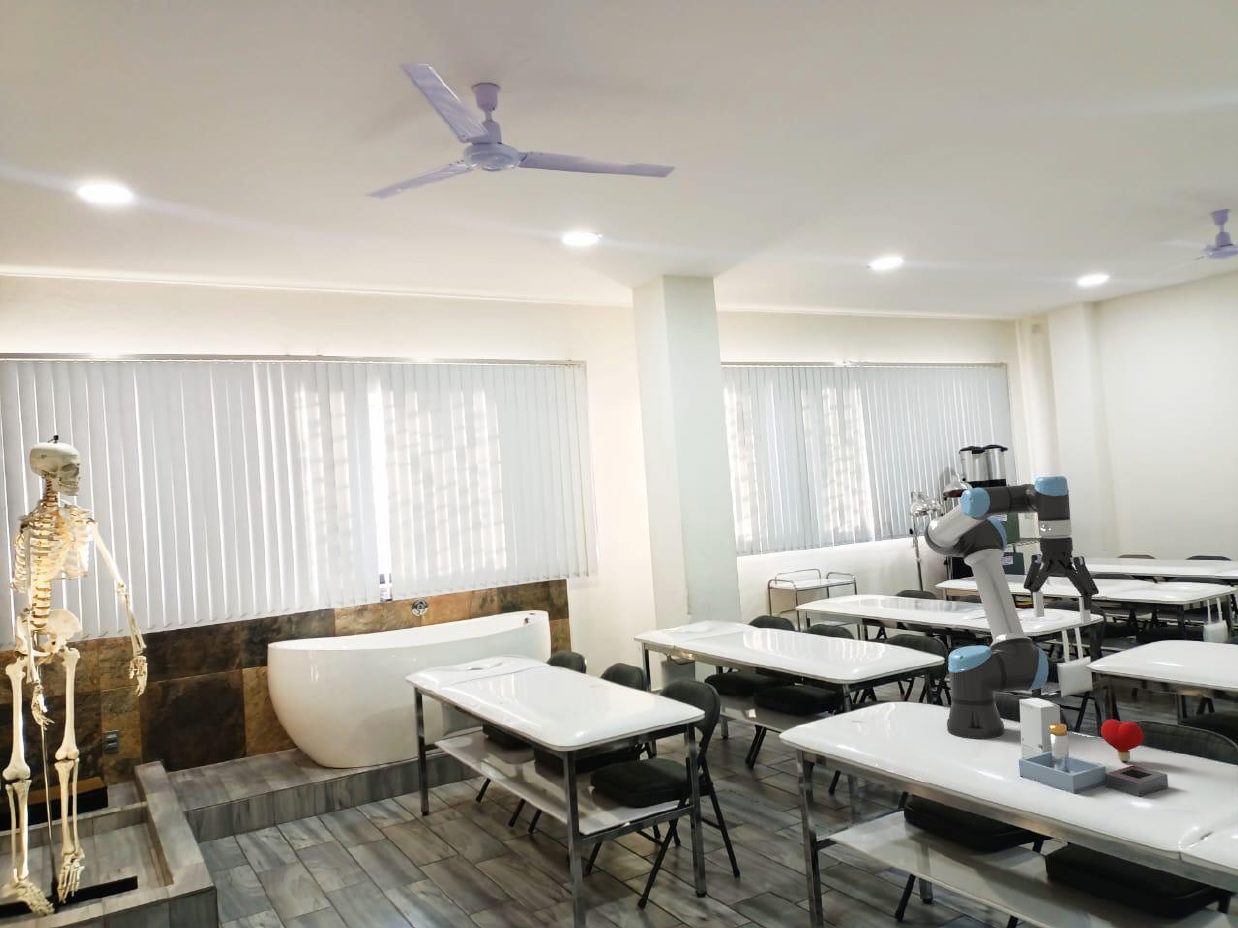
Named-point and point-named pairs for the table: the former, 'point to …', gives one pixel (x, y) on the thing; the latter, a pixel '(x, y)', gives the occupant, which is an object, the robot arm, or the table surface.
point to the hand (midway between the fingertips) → (1062, 619)
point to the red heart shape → (1122, 737)
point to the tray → (1063, 773)
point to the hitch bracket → (1136, 780)
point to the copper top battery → (1059, 747)
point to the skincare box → (1037, 725)
